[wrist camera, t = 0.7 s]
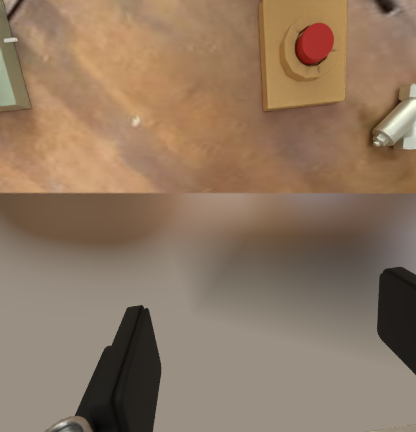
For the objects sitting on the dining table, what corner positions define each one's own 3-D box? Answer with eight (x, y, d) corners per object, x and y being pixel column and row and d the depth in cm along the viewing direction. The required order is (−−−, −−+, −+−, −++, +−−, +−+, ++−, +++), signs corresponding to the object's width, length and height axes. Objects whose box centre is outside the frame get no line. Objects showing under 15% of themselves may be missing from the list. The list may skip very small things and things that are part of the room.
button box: (257, 7, 32) (266, -12, 28) (337, -1, 32) (357, -21, 28) (263, 111, 35) (271, 107, 31) (335, 103, 35) (353, 97, 31)
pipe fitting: (364, 151, 37) (412, 147, 37) (381, 151, 34) (434, 148, 33) (369, 91, 35) (420, 87, 35) (388, 84, 31) (445, 79, 31)
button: (295, 31, 29) (301, 24, 28) (326, 28, 29) (334, 20, 28) (296, 66, 30) (302, 61, 29) (326, 63, 30) (334, 58, 29)
